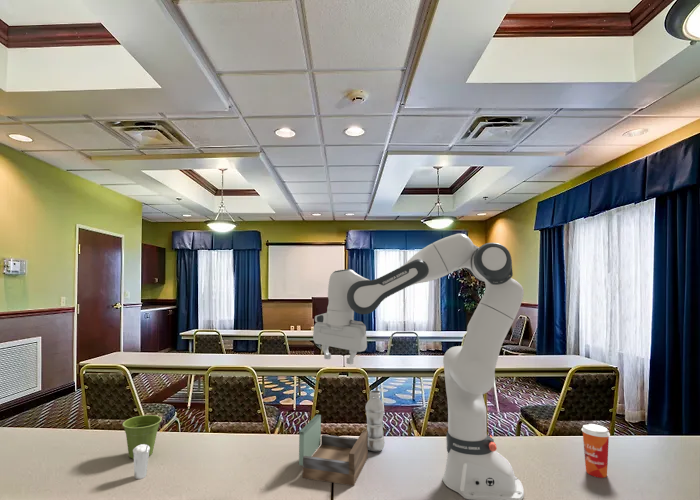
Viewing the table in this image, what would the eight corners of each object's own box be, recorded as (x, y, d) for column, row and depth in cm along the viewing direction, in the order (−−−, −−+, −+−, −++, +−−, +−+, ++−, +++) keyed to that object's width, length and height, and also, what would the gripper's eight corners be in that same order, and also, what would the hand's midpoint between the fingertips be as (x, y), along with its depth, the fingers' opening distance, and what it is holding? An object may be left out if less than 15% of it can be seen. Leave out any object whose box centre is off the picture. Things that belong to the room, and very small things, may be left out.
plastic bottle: (383, 454, 138) (383, 395, 139) (363, 452, 140) (364, 393, 141) (385, 446, 145) (385, 389, 146) (366, 445, 146) (367, 388, 147)
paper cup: (576, 470, 129) (575, 425, 129) (593, 465, 132) (592, 421, 132) (600, 482, 121) (599, 434, 122) (617, 477, 124) (616, 430, 125)
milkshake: (139, 482, 119) (140, 447, 119) (128, 477, 122) (130, 443, 122) (153, 476, 123) (154, 442, 123) (143, 471, 126) (144, 438, 126)
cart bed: (367, 458, 136) (367, 430, 136) (354, 485, 118) (354, 454, 119) (322, 452, 140) (322, 425, 140) (302, 477, 122) (303, 447, 123)
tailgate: (320, 444, 139) (320, 414, 139) (303, 465, 124) (303, 432, 124) (316, 444, 139) (316, 414, 140) (298, 465, 124) (299, 431, 125)
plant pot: (126, 466, 128) (127, 430, 129) (117, 454, 137) (118, 420, 138) (165, 455, 136) (166, 421, 137) (154, 444, 145) (155, 412, 146)
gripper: (371, 321, 129) (370, 365, 128) (323, 315, 141) (321, 355, 141) (360, 322, 124) (358, 368, 123) (311, 316, 136) (309, 357, 136)
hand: (338, 361), depth 132 cm, fingers open, 8 cm apart
